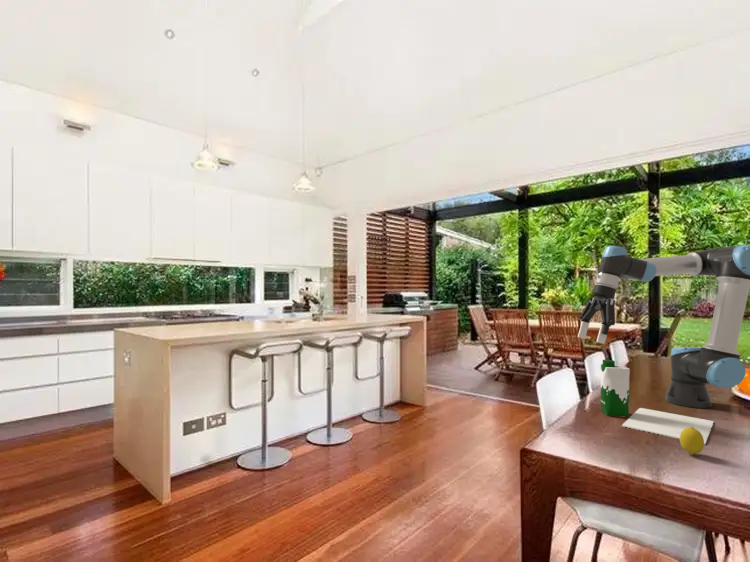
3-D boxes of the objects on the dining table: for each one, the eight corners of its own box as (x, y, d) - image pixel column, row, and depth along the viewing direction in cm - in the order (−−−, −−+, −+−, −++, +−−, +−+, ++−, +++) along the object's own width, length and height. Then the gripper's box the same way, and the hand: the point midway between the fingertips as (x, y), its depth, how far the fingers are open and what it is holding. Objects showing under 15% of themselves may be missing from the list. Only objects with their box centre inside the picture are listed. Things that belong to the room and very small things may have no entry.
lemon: (675, 452, 121) (675, 425, 121) (687, 449, 123) (687, 422, 123) (696, 460, 116) (696, 431, 116) (708, 456, 118) (708, 428, 118)
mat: (713, 422, 147) (713, 421, 147) (705, 444, 127) (705, 443, 127) (639, 408, 163) (639, 407, 163) (621, 426, 142) (621, 425, 142)
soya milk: (597, 409, 162) (598, 358, 162) (623, 411, 160) (623, 359, 160) (605, 416, 153) (605, 362, 153) (632, 418, 151) (632, 363, 151)
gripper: (579, 283, 170) (565, 333, 170) (615, 283, 145) (599, 342, 145) (596, 288, 170) (582, 338, 170) (636, 289, 145) (619, 348, 145)
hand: (590, 340), depth 157 cm, fingers open, 13 cm apart
